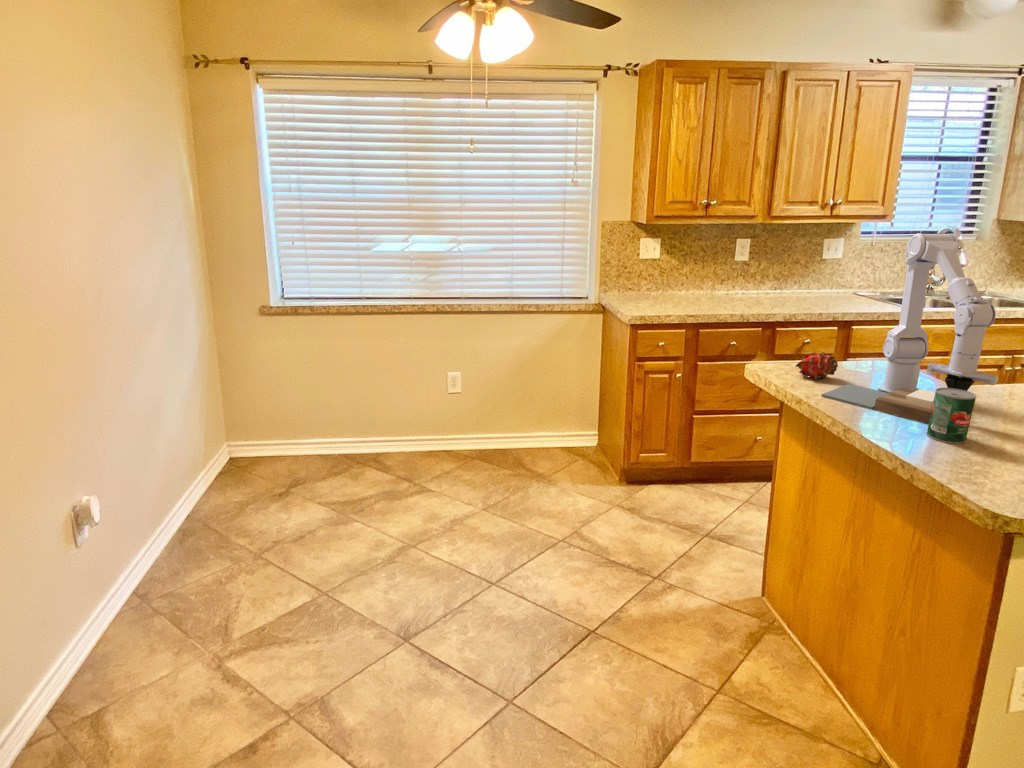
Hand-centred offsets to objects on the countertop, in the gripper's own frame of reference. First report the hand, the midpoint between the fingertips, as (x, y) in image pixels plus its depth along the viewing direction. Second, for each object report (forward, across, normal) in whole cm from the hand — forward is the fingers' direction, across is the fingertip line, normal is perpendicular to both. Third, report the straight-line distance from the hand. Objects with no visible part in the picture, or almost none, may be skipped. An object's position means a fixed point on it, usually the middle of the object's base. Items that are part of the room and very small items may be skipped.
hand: (954, 405), depth 166 cm
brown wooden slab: (+4, -9, +1) cm, 10 cm away
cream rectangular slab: (0, -7, 0) cm, 7 cm away
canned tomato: (+4, +3, -14) cm, 15 cm away
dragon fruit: (+4, -40, +9) cm, 41 cm away
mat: (+4, -23, +1) cm, 23 cm away
